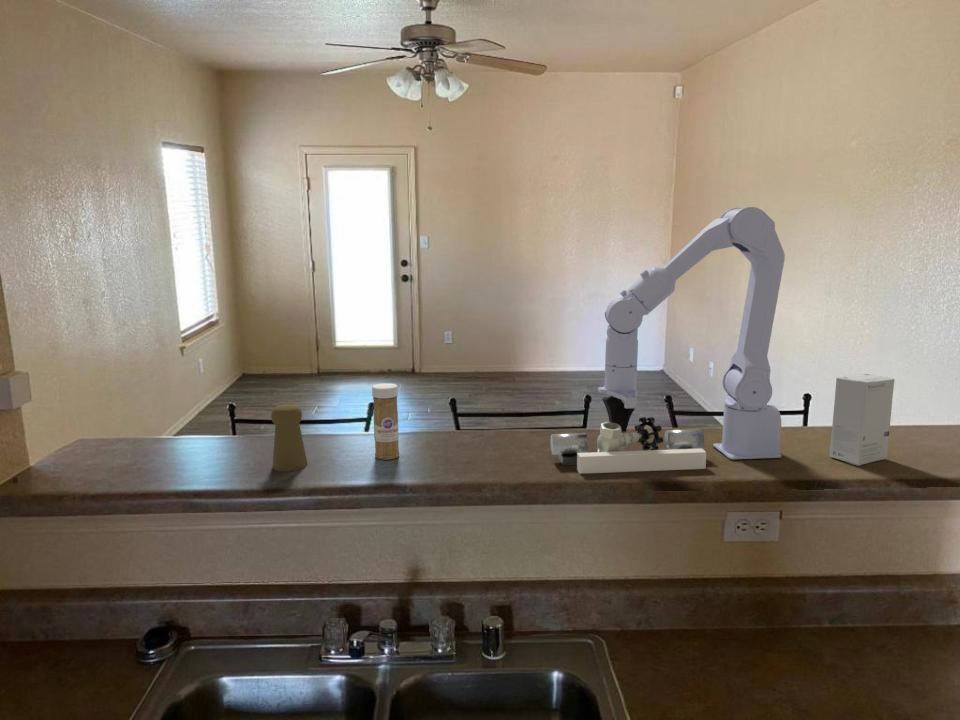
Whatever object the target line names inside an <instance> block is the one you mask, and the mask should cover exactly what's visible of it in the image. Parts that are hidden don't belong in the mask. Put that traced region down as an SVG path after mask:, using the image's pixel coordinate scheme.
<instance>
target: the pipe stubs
mask: <svg viewBox="0 0 960 720" xmlns="http://www.w3.org/2000/svg"><path fill="white" fill-rule="evenodd" d="M663 442H664V446H665V448H666V449H665V450H672V449H700V448H702V449H704V445H705V435H704V432H703V431H702V429H700V428H695V429H672V430H671V429H666V430H665V432H664V438H663ZM550 450H551V451H550V452H551V455H554V456H555V455H557V457H558V460H559V461H560V463H561V464H562V466H577V453H588V450H589V439H588V435H587V433H586V432H578V433H577V432H576V433H575V432H574V433H573V432H572V433H553V434H550Z"/></svg>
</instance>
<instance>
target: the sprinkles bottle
mask: <svg viewBox="0 0 960 720" xmlns="http://www.w3.org/2000/svg"><path fill="white" fill-rule="evenodd" d="M371 388H372V389H371V396H372V401H373V432H374V433H373V437H374V439H373V440H374V449H375V452H374V457H375V458H376V459H378V460H394V459H397V458H398V457H399V456H400V450H399V438H400V437H399V411H398V395H399V391H398V389H399V388H398V385H397V384H395V383H391V382H390V383H389V382H386V383H385V382H384V383H376V384H374V385H372V387H371Z"/></svg>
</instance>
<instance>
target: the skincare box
mask: <svg viewBox="0 0 960 720" xmlns="http://www.w3.org/2000/svg"><path fill="white" fill-rule="evenodd" d="M894 388H895V378H893V377H888V376H887V377H886V376H882V375H876V374H868V373H863V374H862V373H861V374H850V375H843V376H837V377H836V380H835V392H834V393H835V394H834V403H833V414H832V415H833V416H832V424H831V426H832V427H831V436H830V448H829V457H830V458H834V459H837V460H840V461H843V462H845V463H848V464H849V465H850V464H851V465H853V466H857V467H859V466H863V465H866V464H870V463H873V462H877V461H883V460H886V459H887V458H888V451H889V449H888V448H889V440H890V438H889V437H890V431H891V430H890V429H891V419H892V410H893V409H892V407H893V397H894Z"/></svg>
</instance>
